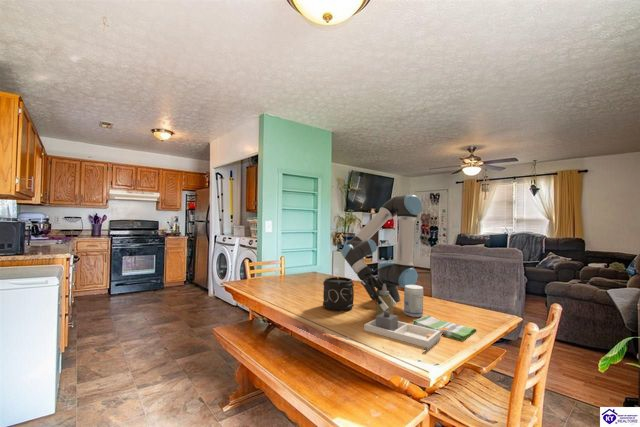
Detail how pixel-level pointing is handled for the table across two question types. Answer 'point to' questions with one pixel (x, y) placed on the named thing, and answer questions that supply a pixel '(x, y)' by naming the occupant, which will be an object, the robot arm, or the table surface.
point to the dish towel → (452, 331)
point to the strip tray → (407, 333)
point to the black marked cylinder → (338, 294)
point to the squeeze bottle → (386, 298)
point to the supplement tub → (413, 300)
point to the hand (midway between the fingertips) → (390, 307)
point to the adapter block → (387, 321)
